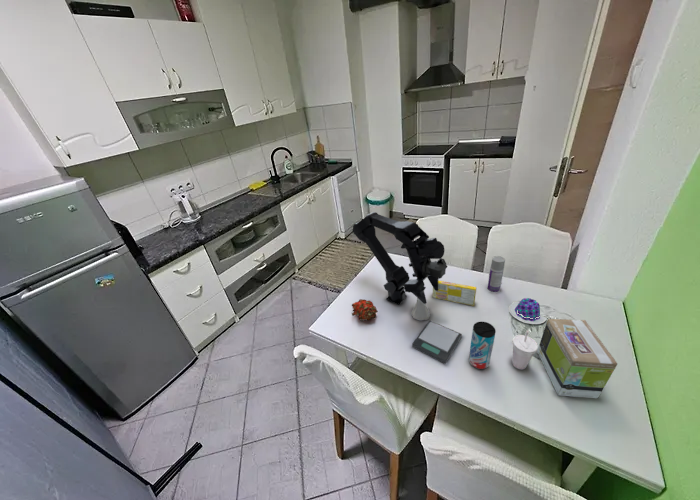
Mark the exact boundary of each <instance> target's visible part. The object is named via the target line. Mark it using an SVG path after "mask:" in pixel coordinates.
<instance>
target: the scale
mask: <svg viewBox="0 0 700 500" xmlns="http://www.w3.org/2000/svg"><path fill="white" fill-rule="evenodd" d="M462 334H463V333H460V332H458V331H455V330H454V329H451V328H449V327H446V326H444V325H442V324H439V323H437V322H436V321H433V320H429V321H428V322H427V323H426V325H425V326H424V327H423V328H422V330H421V332H420V333H419V334H418V335H417V337H416V338H415V339H414V340H413V342H412V345H411V346H412V348H414V349H415V350H417V351H419V352H421V353H423V354H424V355H427V356H429V357H431V358H432V359H435V360H437V361H439V362H440V363H443V364H445V365H446V364H447V363H448V361H449V359H450V357H451V356H452V354H453V353H454V351H455V349H456V348H457V346H458V344H460V343H459V342H460V341H461V339H462Z"/></svg>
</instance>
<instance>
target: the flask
mask: <svg viewBox="0 0 700 500" xmlns="http://www.w3.org/2000/svg"><path fill="white" fill-rule="evenodd" d="M410 314H411V316H412V318H413V320H418V321H426V320H429V318H430V316H431V312H430V310H429V308H428V306H427V303H426V304H424V303H423V302H422V301H420V300H419V299H418V298H417V297H416V303H415V305H414V307H413V308H412V311H411V313H410Z"/></svg>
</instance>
